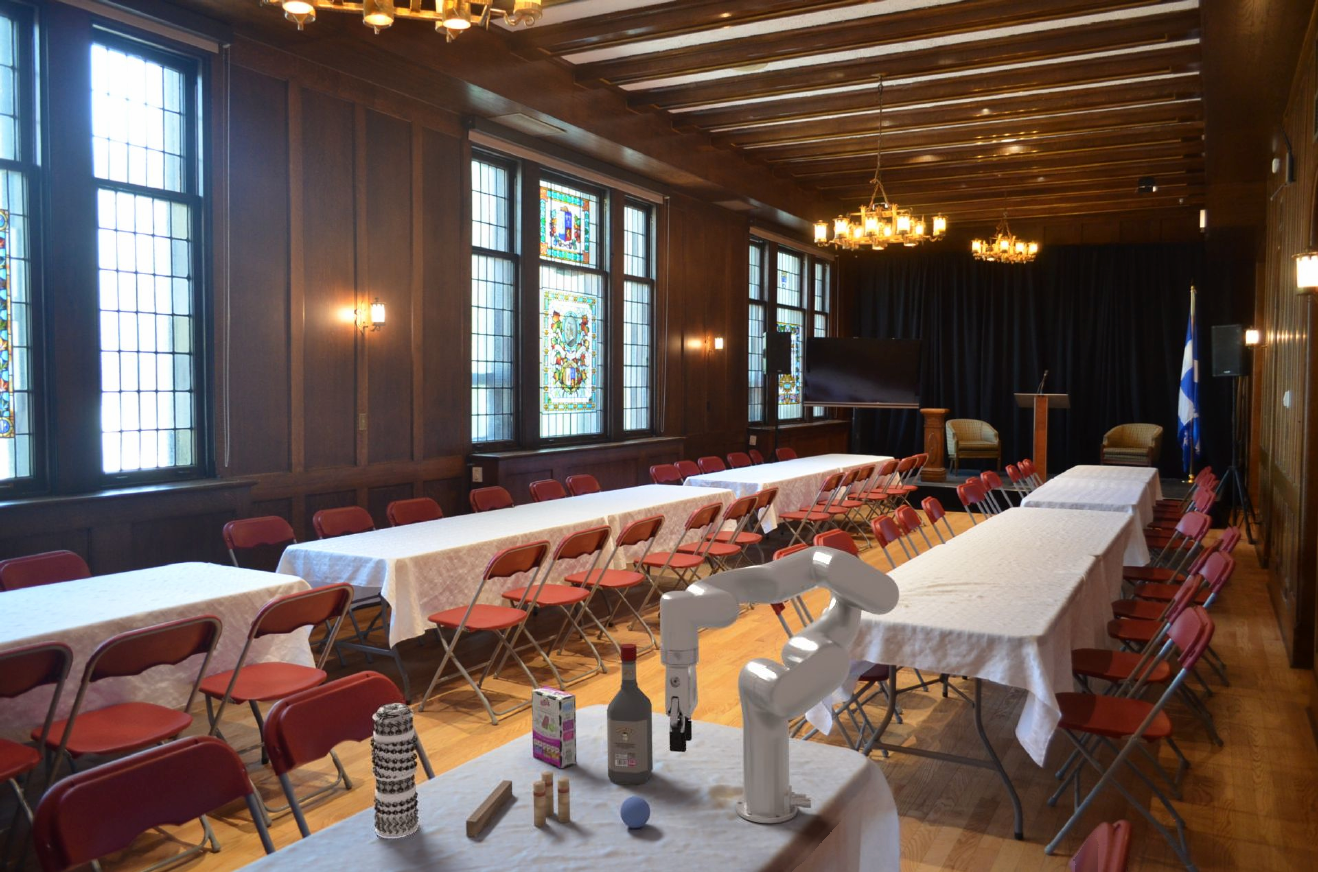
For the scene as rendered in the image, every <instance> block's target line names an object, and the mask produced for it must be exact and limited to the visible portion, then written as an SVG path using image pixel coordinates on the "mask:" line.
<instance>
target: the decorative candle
mask: <svg viewBox="0 0 1318 872" xmlns="http://www.w3.org/2000/svg"><path fill="white" fill-rule="evenodd" d="M414 715H415V711H414V710H413V709H411V708H410V707H409V706H408V705H407V704H404V703H400V702H395V703H394V702H393V703H387V704H385V705H382V706H380V707H379V708H378V709H377V712H375V713H374V714H372V719H373V721H374V723H373V725H374V726H373V729H374V730H373V735H372V736H373V737H372V738H370V746H371V748H372V749H371V763H372V764H373V767H372V775H373V777H374V778H375V789H374V795H375V796H374V799H373V802H374V803H375V804H374V807H373V810H374V811H375V812H374V815H373V818H374V820H375V821H374V827H375V830H374V832H375V831H376V832H379V833H378V834H379V835H382V836H386V837H399V836H403V835H408V834H410V833H412V832H414V831H415V830H416V829H417V828H418V829H419V818H420V817H419V816H418V814H419V811H420V810H419V809H418V803H419V800H418V795H419V793H418V792H417V784H416V780H415V779H416V777H415V776H416V775H415V774H416V773H417V770H418V768H417V767H418V762H417V761H416V760H417V758H418V754H417V753H415V751H416V750H417V749H418V747H419V745H418V744H417V743H416V742H417V741H418V736H416V735H415V727H414ZM418 829H417V830H418ZM415 832H416V831H415ZM415 832H414V833H415Z"/></svg>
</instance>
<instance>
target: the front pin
mask: <svg viewBox="0 0 1318 872" xmlns="http://www.w3.org/2000/svg"><path fill="white" fill-rule="evenodd" d="M556 781H557V820H558V823H560V824H567V823H569V822H571V800H570V789H571V788H570V778H569V777H566V776H565V777H564V776H562V777H559V778H557V780H556Z"/></svg>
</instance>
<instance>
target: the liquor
mask: <svg viewBox="0 0 1318 872" xmlns="http://www.w3.org/2000/svg"><path fill="white" fill-rule="evenodd" d="M637 659H638V656H637V645H636V644H634V643H623V644H620V660H621V683H620V689H619V690H618V691H617V693H616V694H615V696H614V697H613V698H612V699H611V701H610V702H609V704H608V706H607V709H606V729H607V730H606V732H607V736H606V737H607V740H606V741H607V777H608V778H609V780H611V781H612V782H613V783H614V784H622V785H635V786H636V785H640V784H645V783H647V781H648V779H649V778H650V776H651V774H652V773H653V772H652V771H653V769H654V767H653V761H654V760H653V758H654V757H653V704H652V702H651V699H650V698H649V697H648V696H647V695H646V694H645V693H644V691H642V690H641V689H640V688H639V687H638V686H639V683H638V681H637Z"/></svg>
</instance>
